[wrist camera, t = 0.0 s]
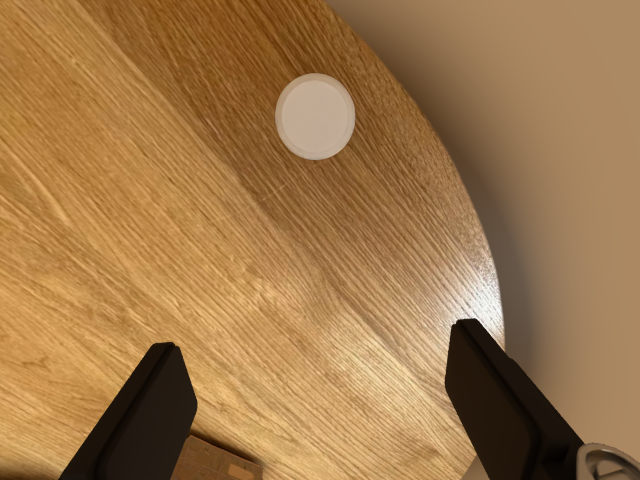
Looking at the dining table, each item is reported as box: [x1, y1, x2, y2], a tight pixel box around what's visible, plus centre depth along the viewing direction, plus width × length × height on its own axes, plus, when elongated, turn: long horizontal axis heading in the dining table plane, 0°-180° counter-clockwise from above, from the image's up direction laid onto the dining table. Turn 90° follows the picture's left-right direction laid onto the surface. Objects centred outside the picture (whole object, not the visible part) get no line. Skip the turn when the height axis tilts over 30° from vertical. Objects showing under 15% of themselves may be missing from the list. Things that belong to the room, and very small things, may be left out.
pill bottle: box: [275, 73, 355, 160], centre depth 21 cm, size 6×5×10 cm
